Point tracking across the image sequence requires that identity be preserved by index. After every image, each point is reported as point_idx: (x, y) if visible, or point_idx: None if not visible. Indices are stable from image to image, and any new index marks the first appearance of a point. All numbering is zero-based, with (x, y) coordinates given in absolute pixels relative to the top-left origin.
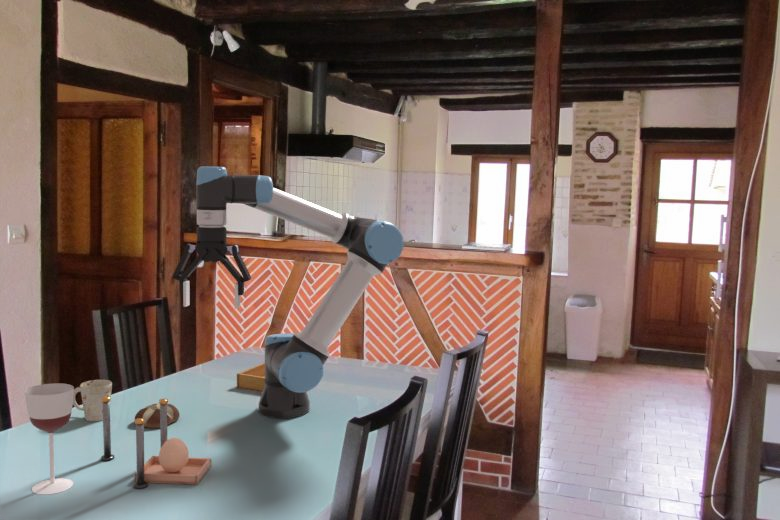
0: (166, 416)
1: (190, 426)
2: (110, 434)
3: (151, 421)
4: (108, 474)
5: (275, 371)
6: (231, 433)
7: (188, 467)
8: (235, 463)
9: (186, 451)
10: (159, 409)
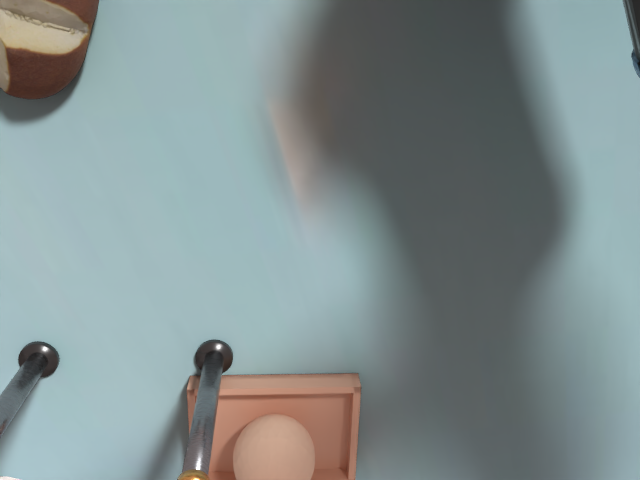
0: (211, 448)
1: (178, 50)
2: (19, 399)
3: (26, 97)
4: (103, 444)
5: (636, 25)
6: (357, 112)
7: (303, 402)
8: (420, 346)
9: (312, 471)
10: (23, 51)
